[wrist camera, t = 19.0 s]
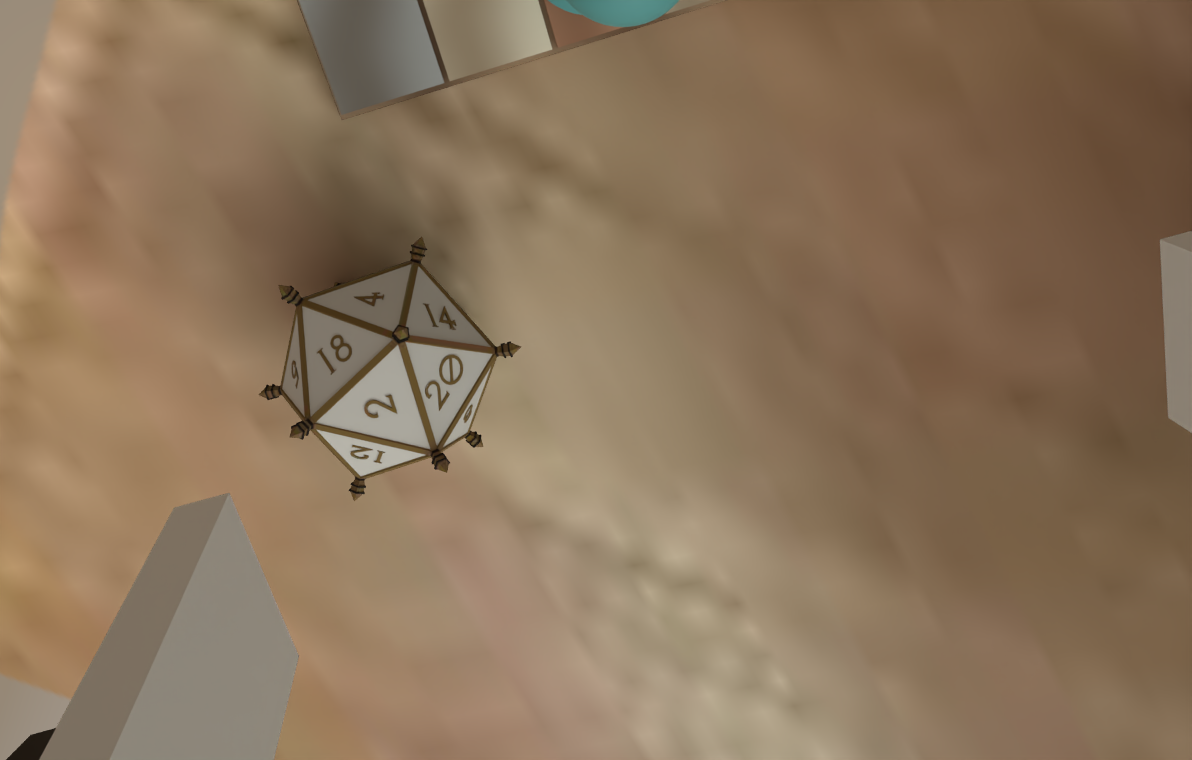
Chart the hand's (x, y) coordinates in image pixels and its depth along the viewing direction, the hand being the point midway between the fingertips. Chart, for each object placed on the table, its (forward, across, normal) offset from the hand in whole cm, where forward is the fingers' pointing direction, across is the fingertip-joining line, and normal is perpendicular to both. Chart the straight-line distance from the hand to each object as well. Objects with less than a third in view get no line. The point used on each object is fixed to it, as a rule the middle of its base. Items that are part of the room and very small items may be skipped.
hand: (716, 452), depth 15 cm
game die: (+28, +8, +6) cm, 30 cm away
